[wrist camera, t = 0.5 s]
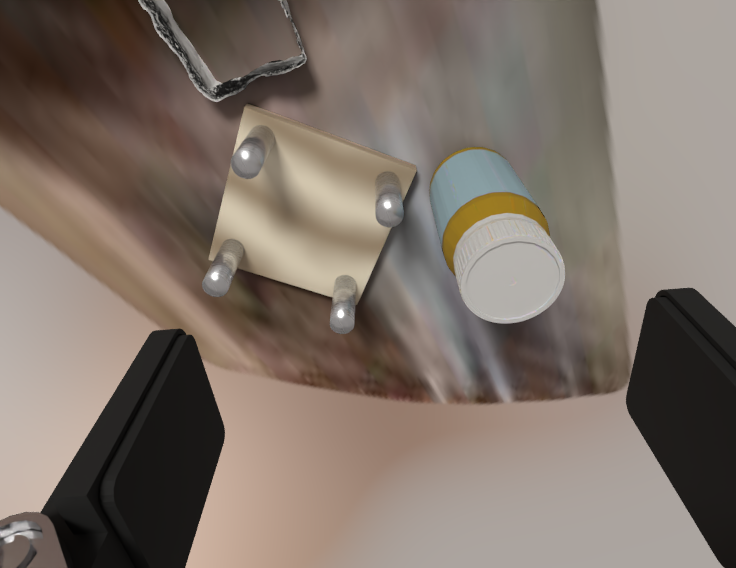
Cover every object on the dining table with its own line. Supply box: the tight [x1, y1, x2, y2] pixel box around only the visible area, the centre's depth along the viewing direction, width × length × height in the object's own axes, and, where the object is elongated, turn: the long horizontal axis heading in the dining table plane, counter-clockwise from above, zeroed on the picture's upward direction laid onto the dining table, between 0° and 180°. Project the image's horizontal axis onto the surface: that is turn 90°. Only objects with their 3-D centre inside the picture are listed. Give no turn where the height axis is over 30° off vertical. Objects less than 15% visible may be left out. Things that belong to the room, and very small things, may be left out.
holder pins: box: [202, 125, 404, 334], centre depth 40 cm, size 12×12×6 cm
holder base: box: [209, 103, 417, 305], centre depth 43 cm, size 14×14×1 cm
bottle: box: [430, 147, 565, 323], centre depth 36 cm, size 7×7×15 cm
